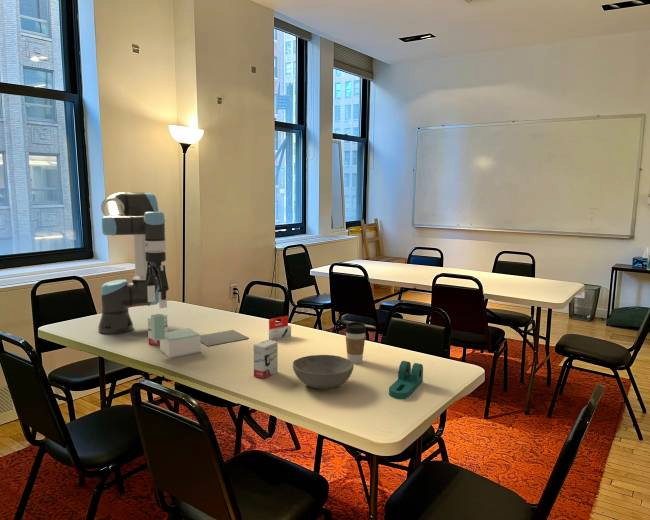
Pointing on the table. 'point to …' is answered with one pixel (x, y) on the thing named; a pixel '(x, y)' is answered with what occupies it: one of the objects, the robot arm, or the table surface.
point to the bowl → (323, 370)
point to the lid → (160, 333)
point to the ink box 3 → (279, 328)
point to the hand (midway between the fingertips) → (157, 304)
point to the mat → (221, 338)
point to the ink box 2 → (265, 358)
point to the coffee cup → (355, 341)
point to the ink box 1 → (150, 330)
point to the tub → (180, 346)
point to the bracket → (406, 380)
